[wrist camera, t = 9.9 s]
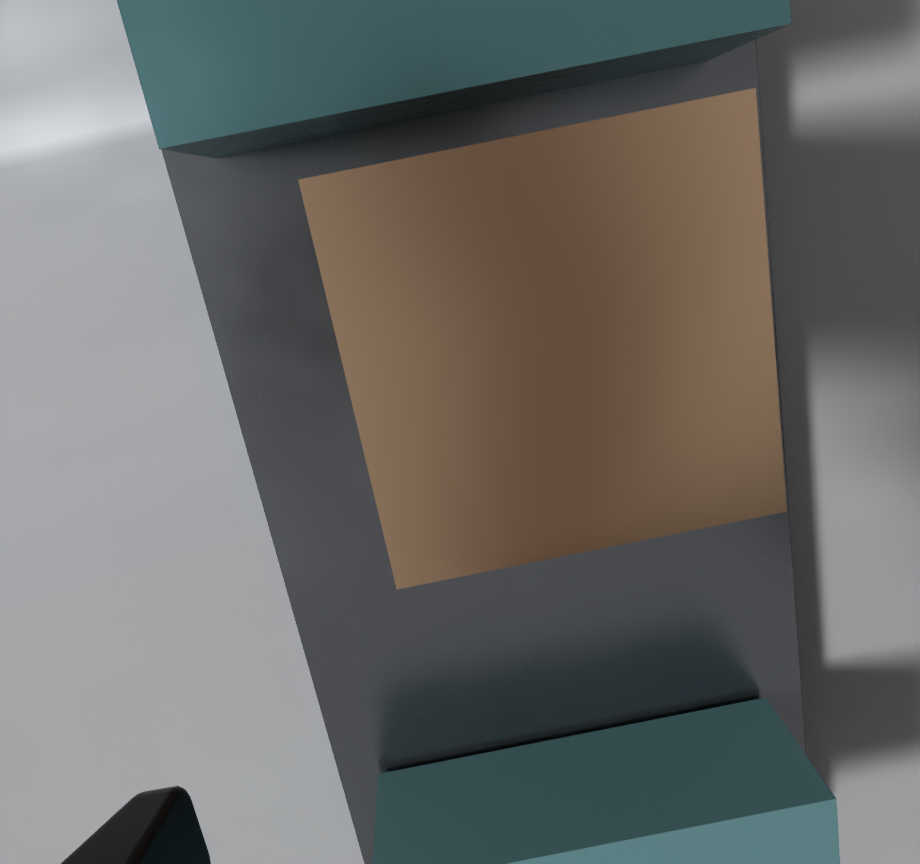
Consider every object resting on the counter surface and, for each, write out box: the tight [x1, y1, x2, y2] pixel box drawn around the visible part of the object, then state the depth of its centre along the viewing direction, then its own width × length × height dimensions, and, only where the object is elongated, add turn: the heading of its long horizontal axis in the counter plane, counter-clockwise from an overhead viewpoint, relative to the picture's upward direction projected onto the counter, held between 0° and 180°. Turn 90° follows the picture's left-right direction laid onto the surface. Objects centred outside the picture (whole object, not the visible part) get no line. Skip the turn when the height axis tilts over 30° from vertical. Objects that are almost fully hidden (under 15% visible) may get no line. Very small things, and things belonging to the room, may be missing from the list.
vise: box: [117, 0, 806, 864], centre depth 17 cm, size 24×12×5 cm, turn 11°
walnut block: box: [298, 88, 787, 589], centre depth 13 cm, size 5×5×8 cm
